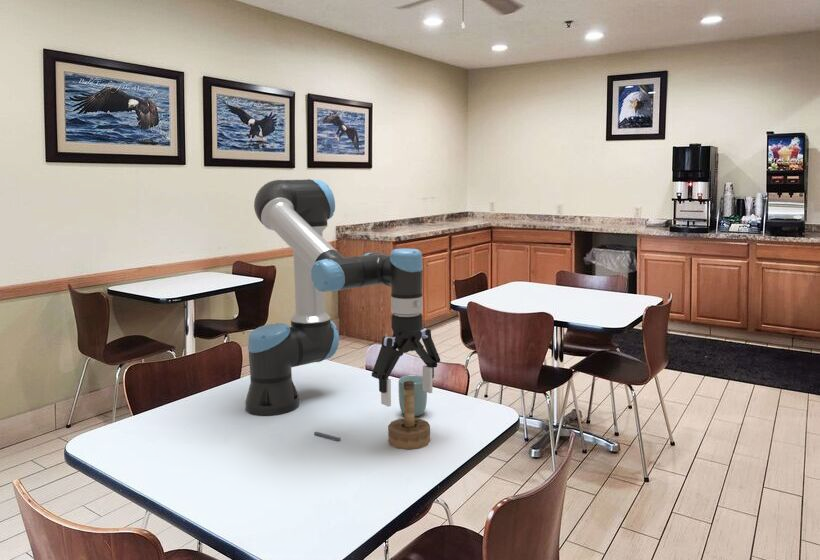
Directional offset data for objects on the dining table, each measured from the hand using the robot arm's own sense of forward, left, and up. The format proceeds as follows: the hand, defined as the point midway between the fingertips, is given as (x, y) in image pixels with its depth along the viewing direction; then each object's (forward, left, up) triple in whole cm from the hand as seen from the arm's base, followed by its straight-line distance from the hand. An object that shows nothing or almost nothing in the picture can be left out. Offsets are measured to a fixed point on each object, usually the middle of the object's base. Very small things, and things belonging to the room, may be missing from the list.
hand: (407, 398), depth 153 cm
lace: (-16, -14, -11) cm, 23 cm away
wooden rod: (+1, 0, -11) cm, 11 cm away
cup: (-13, +13, -11) cm, 21 cm away
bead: (0, 0, -11) cm, 11 cm away
